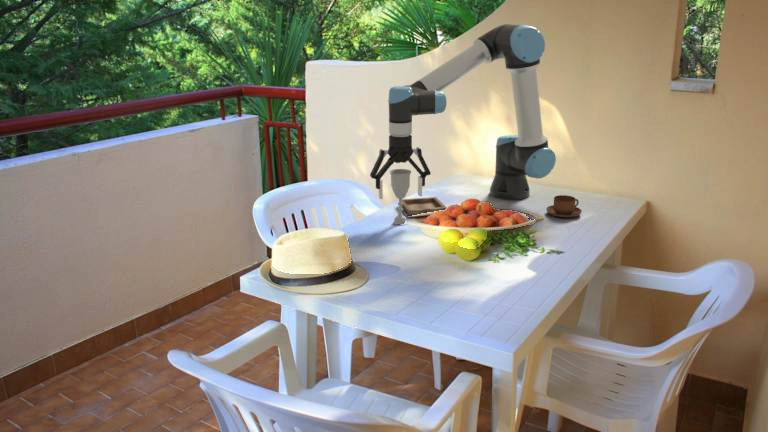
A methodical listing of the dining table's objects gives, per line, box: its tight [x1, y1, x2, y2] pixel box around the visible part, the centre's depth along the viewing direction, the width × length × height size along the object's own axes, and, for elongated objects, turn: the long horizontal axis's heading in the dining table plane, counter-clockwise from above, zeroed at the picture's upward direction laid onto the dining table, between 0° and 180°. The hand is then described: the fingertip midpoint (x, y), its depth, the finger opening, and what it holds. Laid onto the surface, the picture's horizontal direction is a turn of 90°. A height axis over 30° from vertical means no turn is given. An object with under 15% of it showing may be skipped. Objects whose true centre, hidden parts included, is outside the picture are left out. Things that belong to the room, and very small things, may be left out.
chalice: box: [389, 168, 412, 225], centre depth 233 cm, size 7×7×18 cm
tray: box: [402, 196, 448, 217], centre depth 248 cm, size 14×14×2 cm
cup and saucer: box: [546, 194, 582, 219], centre depth 242 cm, size 12×12×6 cm
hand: (400, 196), depth 233 cm, fingers open, 13 cm apart
